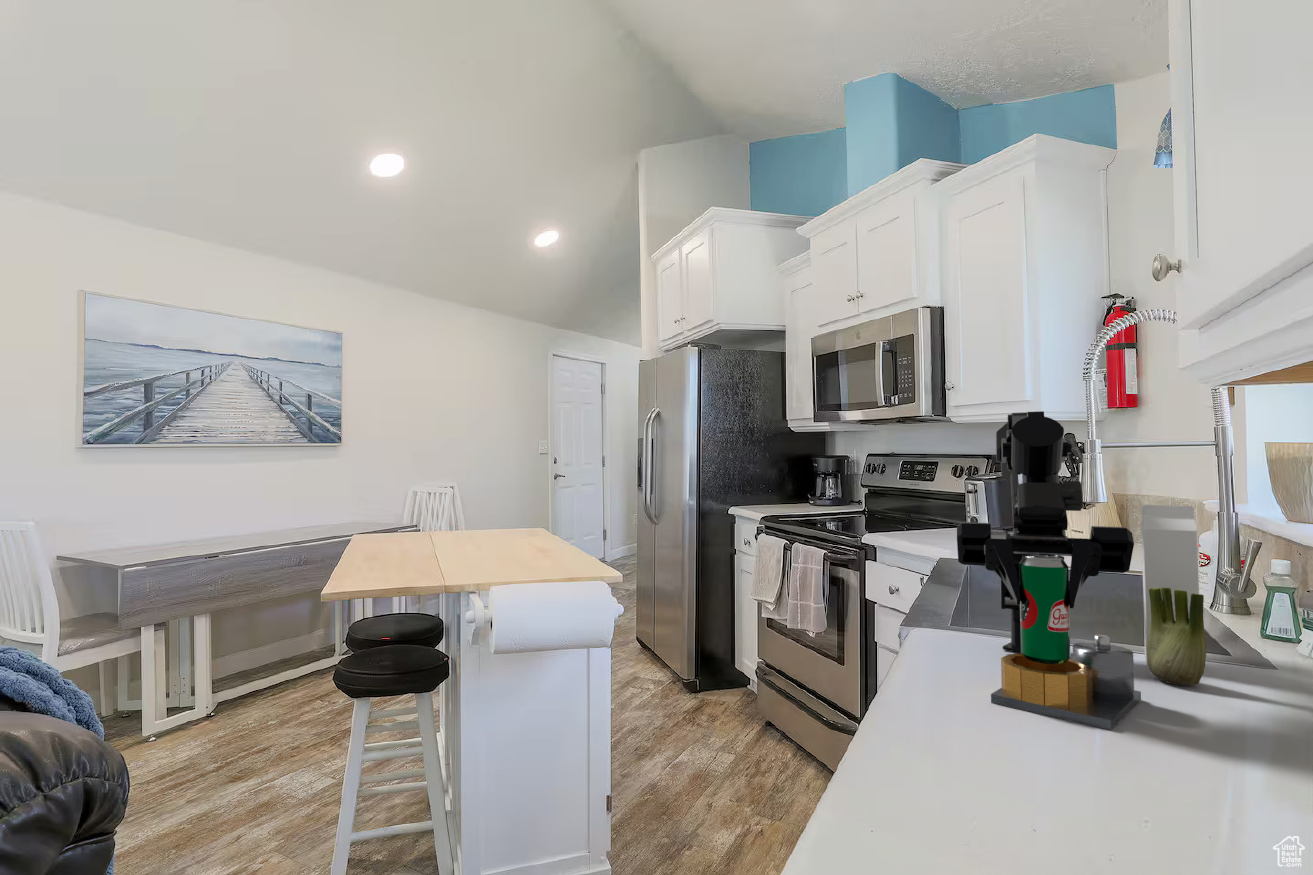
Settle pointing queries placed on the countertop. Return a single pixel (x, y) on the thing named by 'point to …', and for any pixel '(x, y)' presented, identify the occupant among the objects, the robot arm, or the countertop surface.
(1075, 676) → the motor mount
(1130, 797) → the countertop surface
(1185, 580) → the milk
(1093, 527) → the robot arm
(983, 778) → the countertop surface
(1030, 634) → the soda can
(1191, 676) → the fennel bulb
